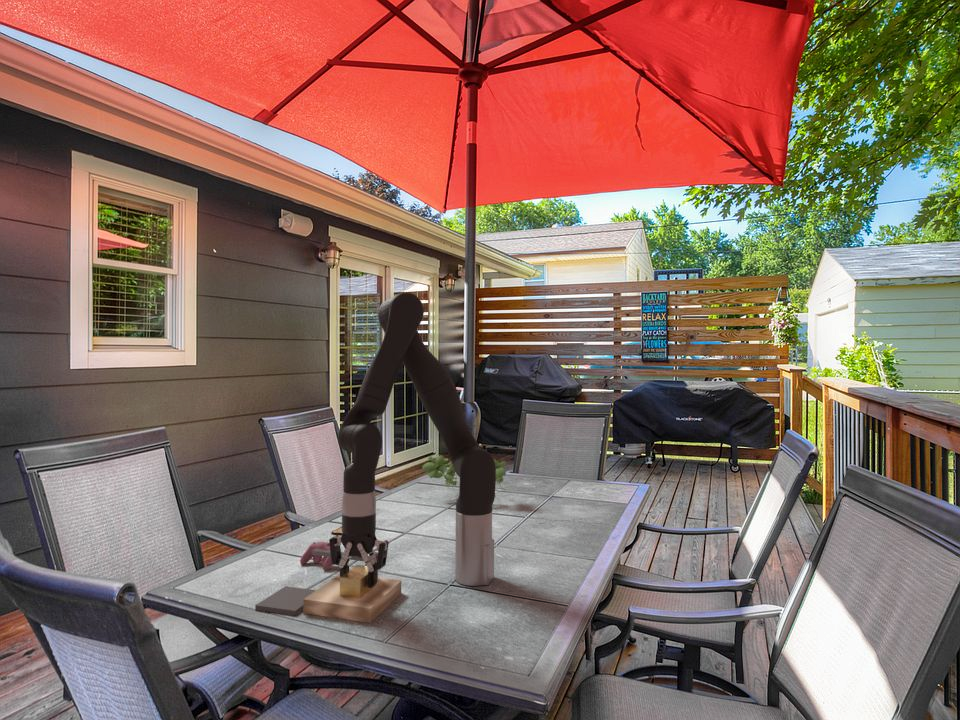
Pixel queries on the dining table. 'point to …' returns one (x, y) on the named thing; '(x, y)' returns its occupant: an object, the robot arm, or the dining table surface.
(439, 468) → the plant cuttings
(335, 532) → the smartphone
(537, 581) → the dining table surface
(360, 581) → the brown rectangular block
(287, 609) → the mat
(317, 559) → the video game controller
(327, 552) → the clamp lever
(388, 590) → the base plate
